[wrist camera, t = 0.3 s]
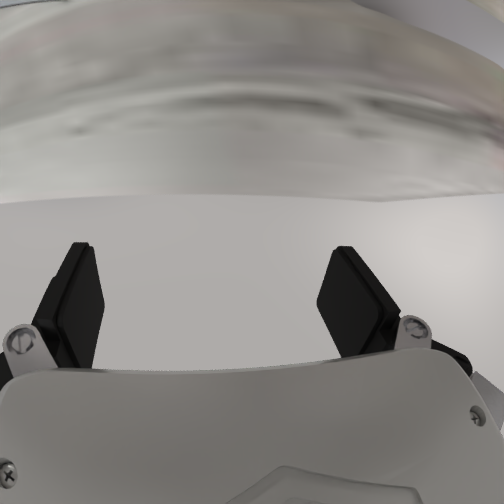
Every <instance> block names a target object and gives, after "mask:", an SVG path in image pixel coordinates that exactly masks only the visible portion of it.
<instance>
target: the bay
mask: <svg viewBox="0 0 504 504" xmlns="http://www.w3.org/2000/svg"><path fill="white" fill-rule="evenodd" d="M42 1H53V0H0V8H2V7H7V6H13V5H19V4H26V3H34V2H42Z"/></svg>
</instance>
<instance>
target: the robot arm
mask: <svg viewBox="0 0 504 504" xmlns="http://www.w3.org/2000/svg"><path fill="white" fill-rule="evenodd" d="M317 307H318V309H319V312H320V314H321V316H322V318H323V320H324V322H325V324H326V326H327V328H328V330H329V332H330V335H331V337H332V339H333V341H334V343H335V345H336V347H337V349H338V351H339V353H340V355H341V358H338V359H331V360H324V361H317V362H308V363H299V364H290V365H280V366H270V367H257V368H245V369H226V370H199V371H138V370H108V369H92V364H93V358H94V353H95V348H96V344H97V339H98V334H99V330H100V326H101V321H102V317H103V313H104V308H105V306H104V298H103V294H102V289H101V284H100V280H99V275H98V270H97V264H96V259H95V253H94V248H93V247H92V246H89V244H88V243H87V242H85V243H84V242H83V243H82V242H80V243H79V242H74V243H73V244H72V246H71V248H70V250H69V251H68V253H67V255H66V257H65V259H64V261H63V263H62V265H61V266H60V269H59V270H58V273H57V275H56V276H55V277H53V278H52V280H51V282H50V284H49V286H48V288H47V290H46V292H45V294H44V296H43V298H42V301H41V303H40V305H39V307H38V310H37V312H36V314H35V316H34V318H33V321H32V323H31V325H29V324H21V325H18V326H15V327H14V328H12V329H11V330H10V331H9V332H8V333H7V334H6V336H5V338H4V340H3V350H4V352H2V353H1V354H0V504H504V439H503V436H502V434H501V432H500V430H501V427H502V424H503V421H504V393H503V392H502V391H500V390H499V389H498V388H497V387H495V386H494V385H493V384H491V383H490V382H489V381H488V380H487V379H485V378H484V377H483V376H482V375H480V374H479V373H478V372H477V371H475V372H474V373H472V371H473V370H472V365H471V363H470V361H469V360H468V358H467V357H466V356H465V355H463V354H461V353H459V352H457V351H455V350H453V349H451V348H449V347H447V346H445V345H443V344H440V343H439V342H436V341H434V340H432V339H431V338H432V333H431V330H430V327H429V326H428V325H427V324H426V322H424V321H423V320H422V319H420V318H418V317H416V316H412V315H407V316H404V317H402V318H400V317H399V313H400V312H401V310H400V309H399V307H398V306H397V304H396V303H395V302H394V300H393V299H392V298H391V296H390V295H389V294H388V292H387V291H386V290H385V288H384V287H383V286H382V284H381V283H380V282H379V280H378V279H377V278H376V276H375V275H374V274H373V272H372V271H371V270H370V269H369V267H368V266H367V265H366V263H365V262H364V261H363V260H362V258H361V257H360V256H359V255H358V253H357V252H356V251H355V249H354V248H353V247H351V246H338V247H337V248H336V249H335V250H333V252H332V255H331V258H330V261H329V264H328V267H327V271H326V274H325V277H324V280H323V283H322V286H321V289H320V292H319V295H318V298H317Z"/></svg>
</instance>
